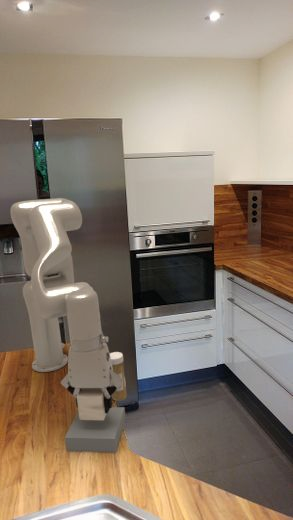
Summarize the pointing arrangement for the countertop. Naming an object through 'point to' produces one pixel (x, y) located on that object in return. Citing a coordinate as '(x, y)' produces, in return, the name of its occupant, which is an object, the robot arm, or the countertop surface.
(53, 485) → the countertop surface
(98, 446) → the slate block
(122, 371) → the sprinkles bottle
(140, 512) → the countertop surface
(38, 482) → the countertop surface
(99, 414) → the cream cube
